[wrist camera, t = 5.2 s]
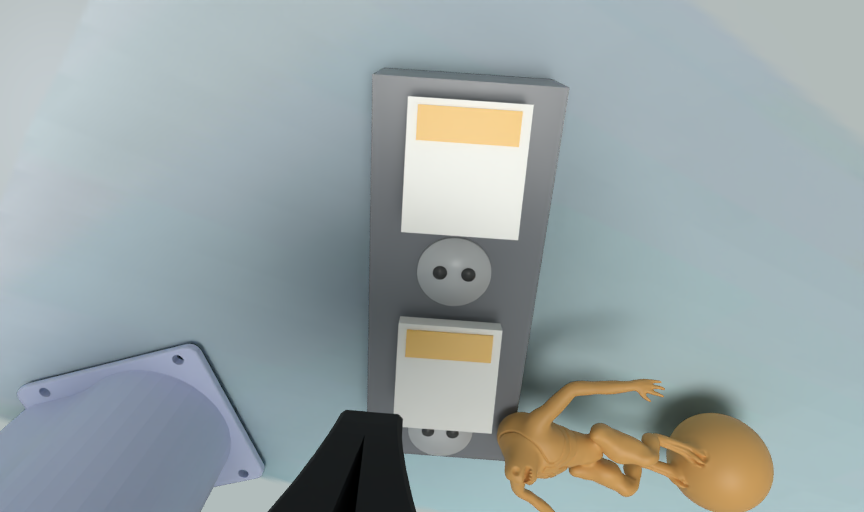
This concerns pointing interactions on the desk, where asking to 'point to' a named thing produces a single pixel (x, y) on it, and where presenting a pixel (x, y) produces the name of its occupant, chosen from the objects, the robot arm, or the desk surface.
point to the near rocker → (465, 167)
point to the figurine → (638, 452)
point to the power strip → (455, 248)
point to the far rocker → (447, 374)
